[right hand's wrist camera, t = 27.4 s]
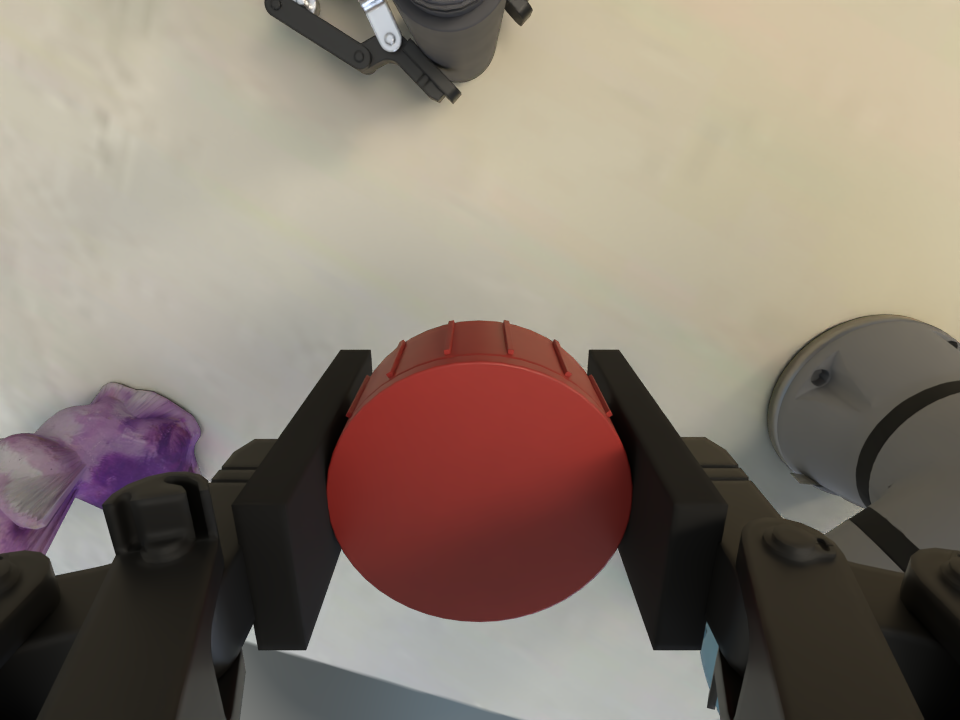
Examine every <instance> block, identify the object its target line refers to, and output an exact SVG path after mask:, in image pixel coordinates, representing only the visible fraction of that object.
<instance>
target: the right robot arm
mask: <svg viewBox="0 0 960 720" xmlns="http://www.w3.org/2000/svg"><path fill="white" fill-rule="evenodd" d="M366 375H368V376H370V377H371V375H372V361H371V350H340V352H339V353H338V354H337V356H336V357H335V359H334V360H333V361H332V363H331V364H330V366H329V367H328V369H327V370H326V371H325V373H324V374H323V376H322V377H321V378H320V380H319V381H318V383H317V384H316V386H315V387H314V388H313V390H312V391H311V393H310V394H309V395H308V397H307V398H306V400H305V401H304V403H303V404H302V405H301V407H300V408H299V410H298V411H297V412H296V414H295V415H294V417H293V418H292V420H291V421H290V422H289V424H288V425H287V427H286V428H285V429H284V431H283V432H282V434H281V435H280V437H279V438H278V439H254V440H253V441H251V442H249V443H248V444H246V445H244V446H243V447H241V448H240V449H238V450H236V451H235V452H234V453H233V454H232V455H231V456H230V458H229V459H228V460H227V461H226V462H225V464H224V465H223V466H222V470H219V471H218V472H217V473H216V475H215V476H214V477H213V478H212V479H211V480H212V481H211V483H208V480H207V479H205V478H204V477H203V476H201V475H200V474H196V473H191V472H187V471H182V472H166V473H161V474H157V475H152V476H148V477H145V478H143V479H140V480H137V481H135V482H132V483H130V484H128V485H126V486H124V487H123V488H121V489H119V490H118V491H116V492H115V493H113V494H112V495H111V496H110V497H109V498H108V499H107V500H106V501H105V502H104V503H103V504H102V508H103V512H104V515H105V519H106V522H107V526H108V529H109V533H110V536H111V540H112V543H113V547H114V550H115V554H116V556H115V558H114V560H113V562H112V563H111V564H108V565H104V566H100V567H95V568H90V569H85V570H81V571H76V572H71V573H66V574H61V575H56V576H55V574H54V571H53V568H52V565H51V562H50V559H49V558H48V557H47V556H45V555H44V554H43V553H41V552H36V551H28V550H22V551H15V552H8V553H1V554H0V720H240V714H241V706H242V698H243V690H244V682H245V674H246V670H245V663H244V657H243V652H242V646H243V644H244V642H245V640H246V638H247V636H248V634H249V632H250V629H251V627H252V625H253V624H254V630H255V635H256V640H257V646H258V650H306V649H307V646H308V643H309V641H310V638H311V635H312V632H313V629H314V626H315V623H316V621H317V618H318V615H319V612H320V609H321V606H322V603H323V600H324V598H325V595H326V592H327V589H328V586H329V583H330V580H331V578H332V575H333V572H334V569H335V566H336V563H337V560H338V557H339V555H340V552H341V549H342V548H341V546H340V545H339V543H338V541H337V539H336V537H335V534H334V531H333V528H332V526H331V523H330V517H329V509H328V501H327V491H326V482H327V473H328V467H329V464H330V460H331V457H332V453H333V451H334V448H335V446H336V444H337V442H338V440H339V437H340V435H341V433H342V431H343V429H344V427H345V425H346V423H347V421H348V419H349V418H348V417H347V416H346V414H347V412H348V410H349V408H350V406H351V404H352V402H353V400H354V398H355V396H356V394H357V392H358V390H359V388H360V387H361V385H362V383H363V381H364V379H365V377H366ZM587 375H588V376H589V375H592V376H593V377H594V379H595V381H596V383H597V385H598V387H599V389H600V391H601V393H602V395H603V397H604V399H605V401H606V403H607V405H608V407H609V409H610V411H611V413H612V416H610V417H609V418H610V420H611V422H612V424H613V426H614V428H615V430H616V432H617V434H618V436H619V438H620V440H621V442H622V445H623V447H624V449H625V451H626V454H627V458H628V461H629V465H630V468H631V476H632V484H633V492H632V505H631V512H630V517H629V522H628V524H627V527H626V530H625V533H624V536H623V538H622V540H621V542H620V544H619V546H618V550H619V553H620V556H621V558H622V561H623V564H624V567H625V570H626V573H627V576H628V579H629V581H630V584H631V587H632V590H633V593H634V596H635V599H636V601H637V604H638V607H639V610H640V613H641V616H642V619H643V622H644V624H645V627H646V630H647V633H648V636H649V639H650V642H651V644H652V647H653V650H701V652H700V654H701V659H702V665H703V669H704V673H705V676H706V680H707V683H708V686H709V689H710V691H709V697H708V704H707V708H710V709H714V710H715V706H716V707H717V710H718V712H719V715H720V720H960V343H959V342H958V341H956V340H955V339H954V338H952V337H951V336H950V335H948V334H947V333H945V332H944V331H942V330H940V329H938V328H936V327H934V326H932V325H929V324H927V323H924V322H921V321H919V320H916V319H913V318H910V317H905V316H900V315H873V316H867V317H862V318H858V319H854V320H851V321H848V322H845V323H843V324H840V325H838V326H836V327H834V328H832V329H830V330H828V331H826V332H825V333H823V334H821V335H820V336H818V337H817V338H815V339H814V340H813V341H811V342H810V343H809V344H808V345H806V346H805V347H804V348H803V349H802V350H801V351H800V352H799V353H798V354H797V355H796V356H795V357H794V358H793V359H792V360H791V362H790V363H789V364H788V365H787V367H786V368H785V370H784V371H783V373H782V374H781V376H780V378H779V379H778V381H777V383H776V385H775V388H774V390H773V393H772V396H771V399H770V403H769V408H768V432H769V436H770V439H771V442H772V445H773V447H774V449H775V451H776V452H777V454H778V455H779V457H780V458H781V459H782V460H783V461H784V463H785V464H786V465H787V466H788V467H789V468H790V469H791V470H792V471H793V472H794V473H791V474H792V476H793V477H794V478H795V479H796V480H797V481H798V482H799V483H803V484H811V485H813V486H814V487H816V488H818V489H820V490H823V491H825V492H828V493H831V494H834V495H838V496H841V497H842V498H844V499H845V500H847V501H849V502H851V503H853V504H855V505H858V506H860V507H862V508H865V509H864V510H862V511H861V512H859V513H858V514H856V515H855V516H853V517H852V518H850V519H848V520H846V521H845V522H843V523H842V524H840V525H839V526H837V527H836V528H834V529H833V530H831V531H830V532H828V533H826V534H825V535H824V534H822V533H821V532H820V531H818V530H815V529H813V528H811V527H809V526H806V525H804V524H802V523H799V522H795V521H791V520H787V519H783V518H782V517H781V516H780V515H779V514H778V512H777V511H776V510H775V509H774V508H773V506H772V505H771V504H770V503H769V502H768V500H767V499H766V498H765V497H764V496H763V494H762V493H761V492H760V491H759V490H758V488H757V487H756V486H755V485H754V483H753V482H752V481H749V479H748V478H749V477H748V476H747V475H746V474H745V473H744V471H743V470H742V469H741V468H738V464H737V463H736V462H735V461H734V459H733V458H732V457H731V456H730V454H729V453H728V452H727V451H726V450H725V449H723V448H722V447H720V446H718V445H717V444H715V443H714V442H712V441H710V440H709V439H707V438H706V437H680V436H679V434H678V433H677V431H676V430H675V429H674V427H673V426H672V424H671V423H670V422H669V420H668V419H667V417H666V416H665V414H664V413H663V412H662V410H661V409H660V407H659V406H658V404H657V403H656V402H655V400H654V399H653V397H652V396H651V395H650V393H649V392H648V390H647V389H646V387H645V386H644V385H643V383H642V382H641V380H640V379H639V378H638V376H637V375H636V373H635V372H634V370H633V369H632V368H631V366H630V365H629V363H628V362H627V361H626V359H625V358H624V356H623V355H622V353H621V352H620V351H619V350H589V356H588V370H587Z"/></svg>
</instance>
